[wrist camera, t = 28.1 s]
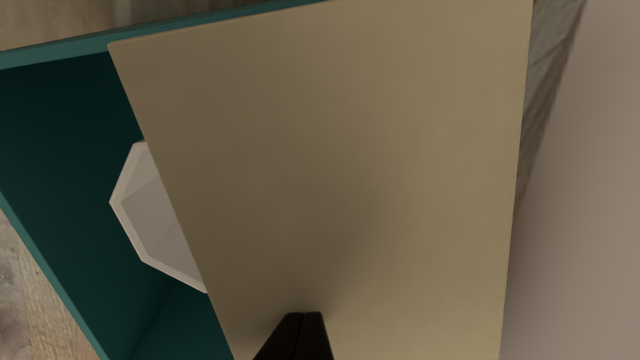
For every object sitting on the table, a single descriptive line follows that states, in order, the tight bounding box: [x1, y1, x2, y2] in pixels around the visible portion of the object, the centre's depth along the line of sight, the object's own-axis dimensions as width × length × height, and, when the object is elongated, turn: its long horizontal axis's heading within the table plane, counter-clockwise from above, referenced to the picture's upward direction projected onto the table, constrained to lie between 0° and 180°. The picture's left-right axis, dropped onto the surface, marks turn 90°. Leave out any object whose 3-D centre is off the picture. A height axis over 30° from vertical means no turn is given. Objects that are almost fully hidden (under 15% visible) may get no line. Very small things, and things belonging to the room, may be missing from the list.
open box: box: [0, 0, 328, 360], centre depth 16 cm, size 16×14×9 cm
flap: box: [107, 0, 533, 360], centre depth 10 cm, size 8×14×1 cm, turn 9°
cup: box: [109, 139, 207, 293], centre depth 16 cm, size 7×10×8 cm
